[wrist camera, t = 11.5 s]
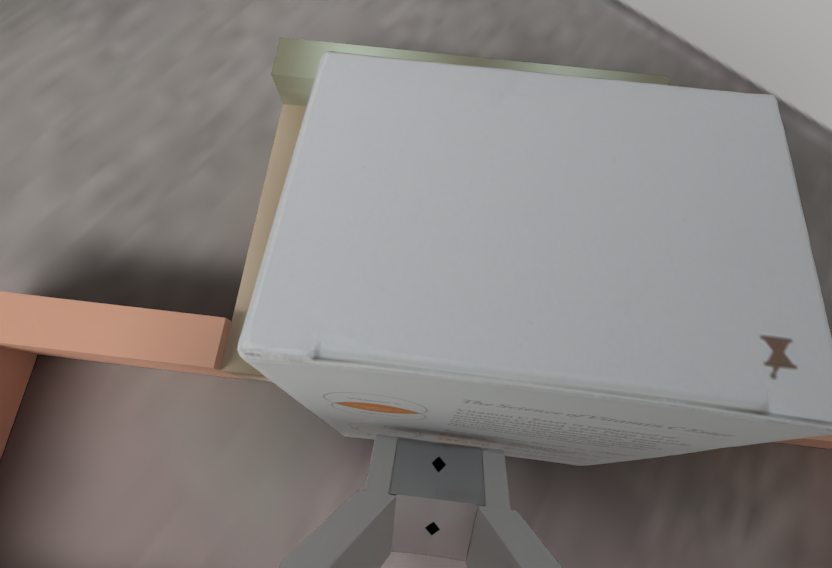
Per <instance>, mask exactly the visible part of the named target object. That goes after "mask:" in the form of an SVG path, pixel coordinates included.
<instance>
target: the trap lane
mask: <svg viewBox="0 0 832 568" xmlns="http://www.w3.org/2000/svg"><path fill="white" fill-rule="evenodd" d="M327 51H335V52H341V53H350V54H360V55H370V56H379V57H389V58H399V59H410V60H420V61H428V62H440V63H448V64H458V65H470V66H481V67H491V68H500V69H510V70H521V71H530V72H540V73H550V74H560V75H570V76H580V77H591V78H602V79H612V80H621V81H633V82H644V83H654V84H664V85H670V83H669V77H668V76H658V75H648V74H638V73H629V72H619V71H609V70H599V69H589V68H579V67H569V66H559V65H549V64H539V63H529V62H519V61H509V60H499V59H489V58H479V57H469V56H459V55H449V54H439V53H429V52H419V51H409V50H399V49H389V48H379V47H369V46H359V45H349V44H340V43H330V42H320V41H310V40H300V39H290V38H280V41H279V45H278V49H277V53H276V57H275V61H274V65H273V69H272V73H271V74H272V77H273V80H274V82H275V85H276V87H277V90H278V92H279V95H280V98H281V100H282V103H283V106H282V110H281V115H280V119H279V123H278V127H277V132H276V136H275V140H274V144H273V148H272V153H271V157H270V161H269V165H268V170H267V174H266V178H265V182H264V187H263V191H262V195H261V199H260V203H259V208H258V212H257V216H256V220H255V225H254V229H253V233H252V237H251V241H250V246H249V250H248V254H247V258H246V263H245V267H244V271H243V275H242V280H241V284H240V288H239V292H238V296H237V301H236V305H235V309H234V313H233V318H232V322H231V326H230V330H229V334H228V339H227V343H226V347H225V351H224V356H223V360H222V364H221V368H220V370H221V371H224V372H227V373H230V374H233V375H236V376H239V377H242V378H245V379H248V380H256V381H264V382H272V381H271V380H269V379H268V378H267V377H265V376H264V375H263V374H262V373H260V372H259V371H258V370H257V369H255V368H254V367H253V366H251V365H250V364H248V363H247V362H246V361H244V360H243V359H242V358H241V357H240V356H239V353H238V350H237V348H238V342H239V338H240V335H241V332H242V329H243V325H244V322H245V319H246V315H247V312H248V308H249V305H250V301H251V298H252V294H253V290H254V287H255V283H256V280H257V276H258V273H259V269H260V266H261V262H262V259H263V255H264V252H265V248H266V245H267V241H268V238H269V234H270V231H271V227H272V224H273V220H274V217H275V213H276V210H277V207H278V203H279V200H280V196H281V193H282V189H283V186H284V182H285V179H286V176H287V172H288V169H289V165H290V162H291V158H292V155H293V151H294V148H295V144H296V141H297V138H298V134H299V131H300V127H301V124H302V120H303V117H304V114H305V110H306V107H307V103H308V100H309V97H310V93H311V90H312V86H313V83H314V79H315V76H316V73H317V69H318V66H319V62H320V58H321V57H322V55H323V54H324V53H325V52H327Z"/></svg>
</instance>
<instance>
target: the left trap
mask: <svg viewBox="0 0 832 568" xmlns="http://www.w3.org/2000/svg"><path fill="white" fill-rule="evenodd" d="M231 322H232V321H230V320H229V319H227V318H224V317H216V316H207V315H198V314H190V313H181V312H173V311H164V310H155V309H147V308H138V307H129V306H121V305H112V304H104V303H95V302H86V301H78V300H69V299H61V298H52V297H43V296H35V295H26V294H17V293H9V292H0V460H1V457H2V454H3V451H4V448H5V445H6V443H7V440H8V437H9V434H10V431H11V428H12V426H13V423H14V420H15V417H16V414H17V412H18V409H19V406H20V403H21V400H22V397H23V395H24V392H25V389H26V386H27V383H28V380H29V378H30V375H31V372H32V369H33V366H34V363H35V361H36V358H37V355H47V356H55V357H63V358H72V359H80V360H88V361H97V362H105V363H114V364H122V365H130V366H139V367H147V368H156V369H164V370H172V371H181V372H189V373H197V374H206V375H214V376H223V377H231V378H239V379H245V378H242V377H239V376H236V375H233V374H230V373H227V372H224V371H221V370H220V368H221V364H222V360H223V356H224V351H225V347H226V343H227V339H228V334H229V330H230V326H231Z"/></svg>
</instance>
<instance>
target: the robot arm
mask: <svg viewBox="0 0 832 568" xmlns="http://www.w3.org/2000/svg"><path fill="white" fill-rule="evenodd" d="M391 552H401V553H411V554H421V555H428V554H429V555H430V556H436V557H442V558H449V559H455V560H461V561H466V564H467V566H468V568H562V567H561V565H560V564H559V563H558V562H557V560H556V559H555V558H554V557H553V555H552V554H551V553H550V551H549V550H548V549H547V548H546V546H545V545H544V544H543V543H542V541H541V540H540V539H539V538H538V536H537V535H536V534H535V532H534V531H533V530H532V529H531V527H530V526H529V525H528V524H527V522H526V521H525V520H524V518H523V517H522V516H521V515H520V513H519V512H518V511H515V510H511V505H510V497H509V488H508V480H507V471H506V462H505V454H504V452H503V450H501V449H492V448H483V447H481V448H480V447H474V446H465V445H457V444H448V443H437V442H430V441H423V440H416V439H410V438H403V437H393V436H387V435H380V434H377V435H376V438H375V441H374V446H373V450H372V455H371V460H370V465H369V470H368V474H367V479H366V484H365V489H364V491H357V492H356V493H354V494H353V495H352V496H351V497H350V498H349V499H348V500H347V501H346V502H345V503H344V504H343V505H342V506H341V507H339V508H338V509H337V510H336V511H335V512H334V513H333V514H332V515H331V516H330V517H329V518H328V519H327V520H326V521H324V522H323V523H322V524H321V525H320V526H319V527H318V528H317V529H316V530H315V531H314V532H313V533H312V534H311V535H309V536H308V537H307V538H306V539H305V540H304V541H303V542H302V543H301V544H300V545H299V546H298V547H297V548H296V549H294V550H293V551H292V552H291V553H290V554H289V555H288V556H287V557H286V558H285V559H284V560H283V561H282V562H281V564H280V567H279V568H380V567H381V566H382V564H383V563H384V562H385V560H386V559H387V558H388V556H389V555H390V553H391Z"/></svg>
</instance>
